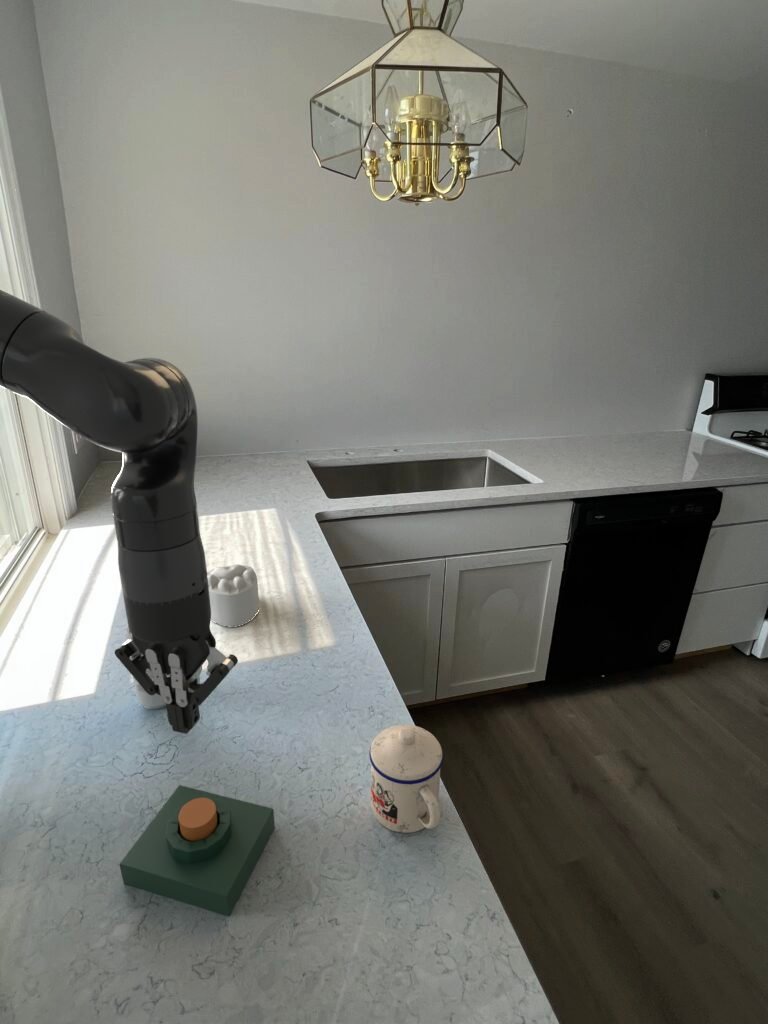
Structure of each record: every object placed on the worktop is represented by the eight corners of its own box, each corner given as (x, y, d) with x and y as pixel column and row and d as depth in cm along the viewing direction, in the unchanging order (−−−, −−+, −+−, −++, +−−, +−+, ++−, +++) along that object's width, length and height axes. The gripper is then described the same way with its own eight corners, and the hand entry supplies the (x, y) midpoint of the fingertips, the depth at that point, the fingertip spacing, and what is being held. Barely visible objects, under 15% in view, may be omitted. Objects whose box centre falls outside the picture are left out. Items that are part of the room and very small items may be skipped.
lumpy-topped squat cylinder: (255, 592, 123) (252, 557, 120) (263, 622, 112) (260, 584, 109) (206, 600, 120) (202, 563, 117) (209, 631, 108) (205, 592, 105)
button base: (123, 884, 61) (116, 851, 60) (182, 803, 71) (177, 773, 70) (229, 917, 58) (225, 883, 57) (275, 827, 68) (272, 797, 66)
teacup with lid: (357, 791, 73) (357, 720, 69) (417, 767, 77) (420, 699, 73) (400, 869, 63) (403, 792, 59) (466, 837, 67) (473, 763, 63)
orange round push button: (173, 836, 62) (171, 823, 61) (193, 807, 65) (191, 794, 65) (205, 845, 61) (203, 831, 60) (224, 815, 65) (222, 801, 64)
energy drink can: (180, 685, 93) (169, 607, 88) (174, 709, 88) (162, 627, 82) (142, 688, 92) (129, 609, 87) (133, 713, 87) (118, 631, 81)
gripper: (76, 588, 50) (106, 739, 56) (206, 610, 47) (223, 768, 53) (131, 554, 57) (153, 693, 63) (248, 572, 54) (259, 715, 60)
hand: (185, 727), depth 58 cm, fingers closed
